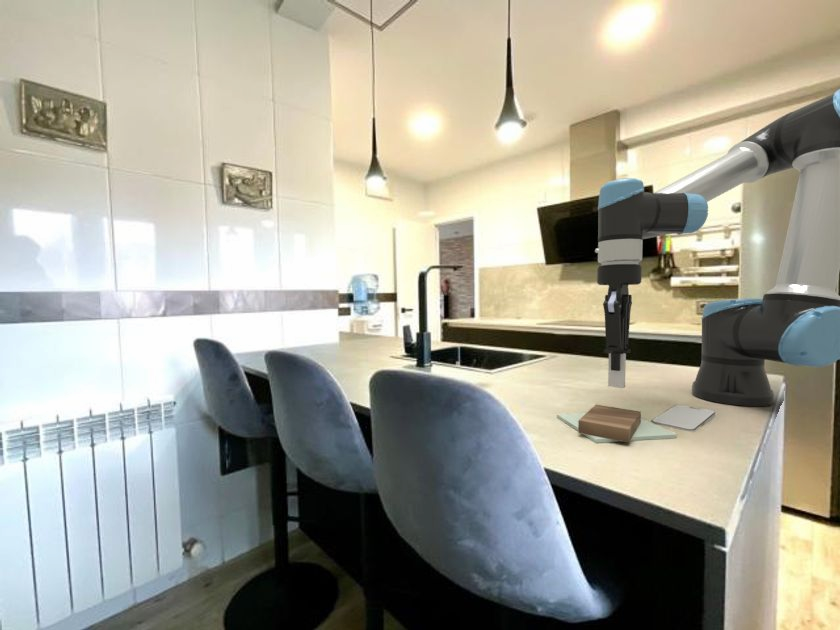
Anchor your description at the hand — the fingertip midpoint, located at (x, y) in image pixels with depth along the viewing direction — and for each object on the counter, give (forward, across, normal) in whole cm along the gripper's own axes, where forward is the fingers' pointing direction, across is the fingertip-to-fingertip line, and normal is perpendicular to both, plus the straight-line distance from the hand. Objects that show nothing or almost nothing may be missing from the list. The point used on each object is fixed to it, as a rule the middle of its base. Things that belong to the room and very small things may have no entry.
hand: (616, 386), depth 76 cm
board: (+5, 0, 0) cm, 5 cm away
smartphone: (+8, -10, +10) cm, 17 cm away
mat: (+7, +3, 0) cm, 8 cm away
